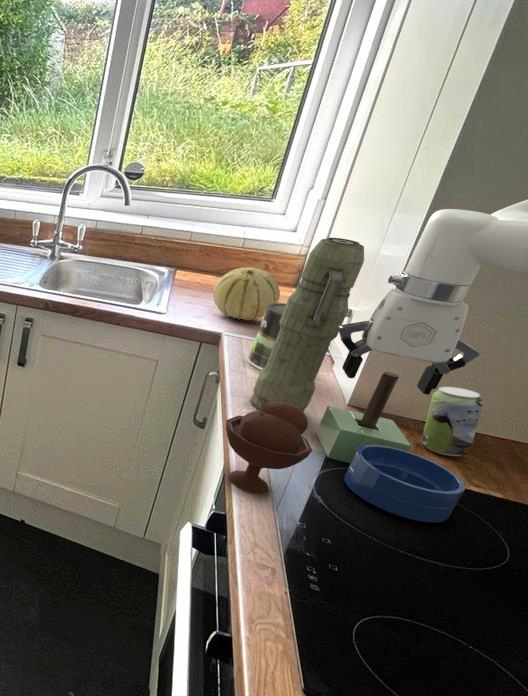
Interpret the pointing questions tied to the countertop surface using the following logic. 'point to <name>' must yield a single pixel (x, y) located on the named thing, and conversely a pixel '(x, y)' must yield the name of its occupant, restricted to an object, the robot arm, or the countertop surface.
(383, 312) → the robot arm
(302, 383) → the thermos
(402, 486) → the mixing bowl
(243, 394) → the countertop surface
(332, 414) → the utensil holder
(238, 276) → the cantaloupe
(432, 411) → the beverage can
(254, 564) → the countertop surface
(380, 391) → the stirring stick
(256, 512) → the countertop surface
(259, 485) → the ice cream bowl
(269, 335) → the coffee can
